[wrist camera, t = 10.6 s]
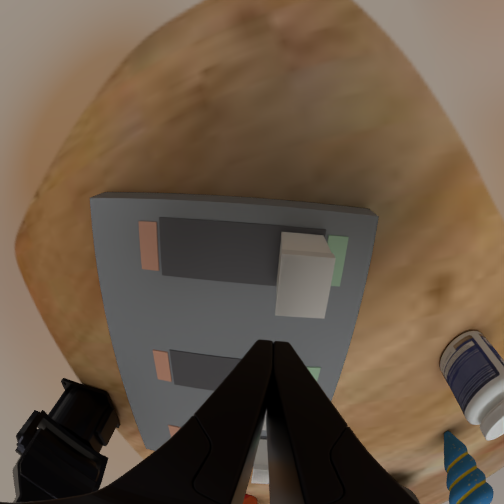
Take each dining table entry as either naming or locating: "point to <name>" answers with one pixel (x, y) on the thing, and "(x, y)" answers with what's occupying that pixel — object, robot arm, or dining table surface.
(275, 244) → the breaker panel
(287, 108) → the dining table surface
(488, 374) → the pill bottle
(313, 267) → the handle
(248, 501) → the paper cup
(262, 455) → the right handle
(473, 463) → the ornament
